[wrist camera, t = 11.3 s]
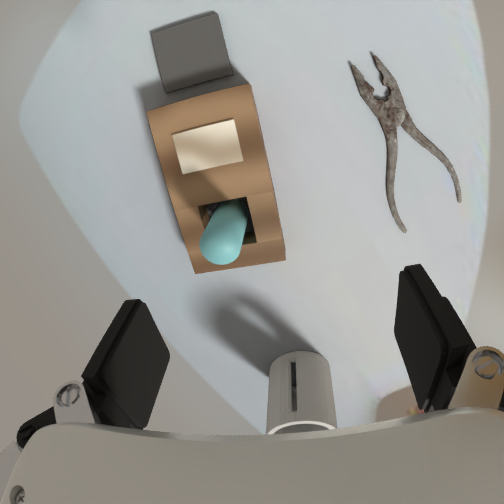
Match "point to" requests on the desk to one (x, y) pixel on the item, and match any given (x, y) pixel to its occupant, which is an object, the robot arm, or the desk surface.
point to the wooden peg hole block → (218, 170)
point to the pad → (191, 53)
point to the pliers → (390, 119)
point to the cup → (300, 395)
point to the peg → (224, 232)
